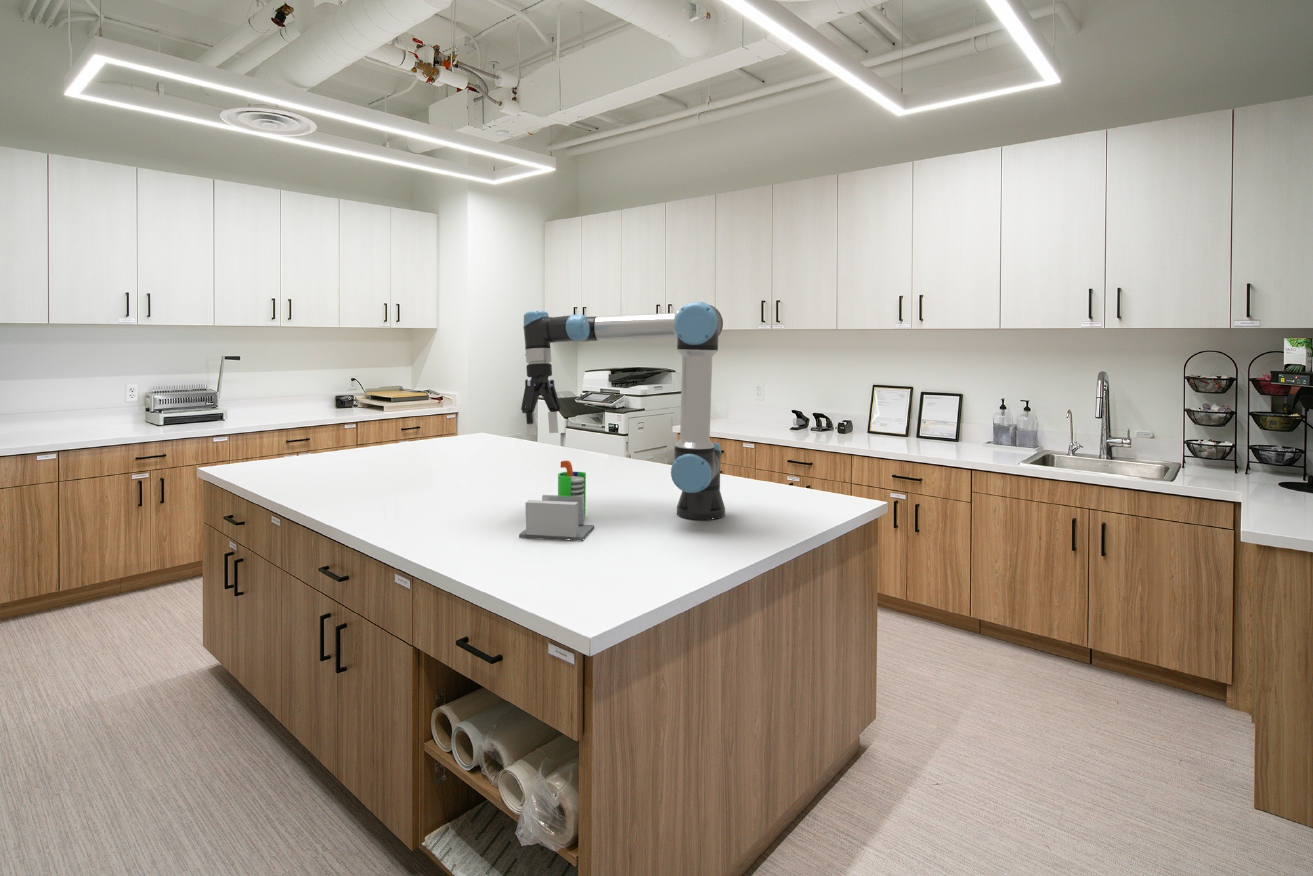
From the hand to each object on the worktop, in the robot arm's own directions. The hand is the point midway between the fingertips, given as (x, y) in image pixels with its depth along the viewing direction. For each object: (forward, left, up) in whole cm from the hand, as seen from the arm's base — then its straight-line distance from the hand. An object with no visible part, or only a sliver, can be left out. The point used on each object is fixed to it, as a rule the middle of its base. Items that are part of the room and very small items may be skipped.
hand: (543, 434), depth 212 cm
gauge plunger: (-8, +12, -24) cm, 28 cm away
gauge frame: (-9, +16, -26) cm, 32 cm away
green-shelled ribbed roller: (-9, +2, -26) cm, 28 cm away
